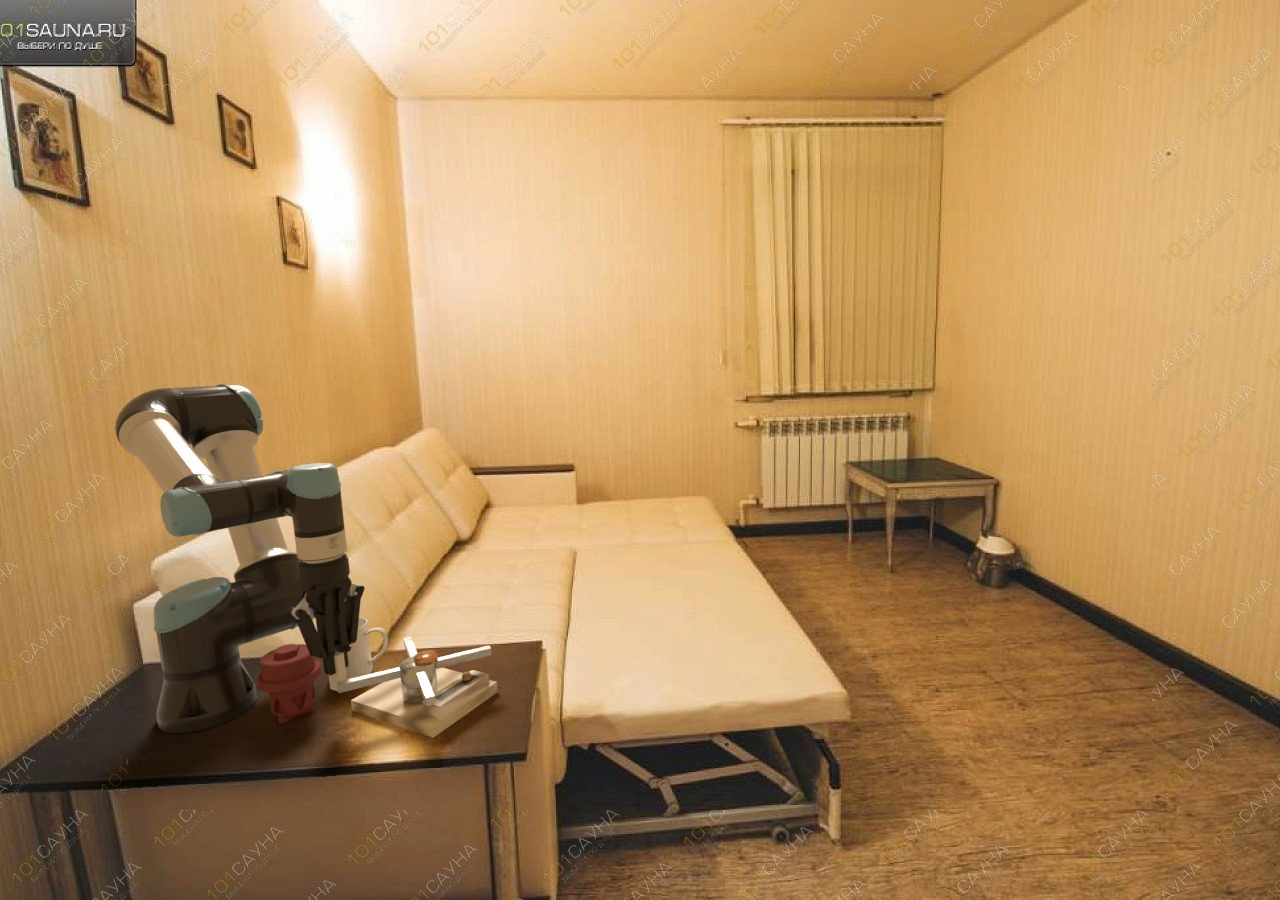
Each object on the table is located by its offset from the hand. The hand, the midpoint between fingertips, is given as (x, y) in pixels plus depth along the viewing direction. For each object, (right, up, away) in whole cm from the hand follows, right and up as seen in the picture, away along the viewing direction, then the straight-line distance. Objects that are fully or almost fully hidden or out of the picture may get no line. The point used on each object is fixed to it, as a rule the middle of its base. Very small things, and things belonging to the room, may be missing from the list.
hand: (339, 688), depth 111 cm
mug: (-4, -4, +18) cm, 19 cm away
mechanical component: (-10, -6, +5) cm, 13 cm away
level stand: (+13, -5, +7) cm, 15 cm away
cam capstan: (+13, -3, +4) cm, 14 cm away
